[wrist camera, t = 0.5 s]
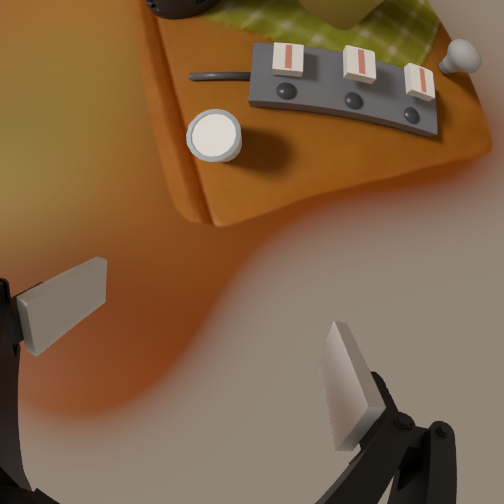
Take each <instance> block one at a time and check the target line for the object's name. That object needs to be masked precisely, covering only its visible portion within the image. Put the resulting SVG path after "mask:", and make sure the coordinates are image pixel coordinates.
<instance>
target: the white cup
mask: <svg viewBox="0 0 504 504" xmlns="http://www.w3.org/2000/svg"><path fill="white" fill-rule="evenodd" d="M186 136H187V145H188V147H189V149H190V150H191V152H192V154H194V155H195V156H196V157H198V158H199V159H201V160H205V161H209V162H228V161H230V160H232V159H234V158H235V157H236V156H237V155H238V154H239V153H240V150H241V147H242V138H241V128H240V124H239V123H238V121H237V119H236V118H235V117H234V116H233V115H232V114H230V113H229V112H227V111H224V110H220V109H212V110H206V111H204V112H202V113H201V114H199V115H197V116H196V117H195V118H194V120H193V121H192V122H191V123H190V125H189V128H188V131H187V134H186Z"/></svg>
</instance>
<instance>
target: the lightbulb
mask: <svg viewBox="0 0 504 504" xmlns="http://www.w3.org/2000/svg"><path fill="white" fill-rule="evenodd" d="M480 66H481V57H480V54H479V52H478V50H477V49H476V47H475V46H474V45H473V44H472V43H470V42H468V41H466V40H464V39H455V40H453V41H452V42H451V43H450V44H449V46H448V53H447V55H446V57H444V58H443V61H441V62H440V63H439V69H440V70H441V72H442V73H444V74H450V73H454V72H457V71H462V72H466V73H473V72H476V71H477V70H478V69H479V67H480Z"/></svg>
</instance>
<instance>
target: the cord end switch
mask: <svg viewBox="0 0 504 504" xmlns="http://www.w3.org/2000/svg"><path fill="white" fill-rule="evenodd" d="M303 50H304V45H298V44H288V43H275V42H274V52H273V66H272V75H284V76H294V77H302V73H303Z"/></svg>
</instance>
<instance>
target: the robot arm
mask: <svg viewBox="0 0 504 504" xmlns="http://www.w3.org/2000/svg"><path fill="white" fill-rule="evenodd" d="M219 1H220V0H146V3H147V6H148V7H149V8H150V10H151V11H152V12H153V13H154V14H155V15H156V16H158V17H161V18H165V19H180V18H186V17H190V16H193V15H196V14H199V13H201V12H203V11H206V10H207V9H209V8H211V7H213V6H214V5H215V4H217V3H218V2H219ZM106 270H107V260H106V259H103V258H100V257H95V258H93V259H91V260H89V261H86V262H84V263H82V264H80V265H78V266H76V267H74V268H72V269H70V270H68V271H66V272H63V273H61V274H59V275H57V276H55V277H53V278H51V279H49V280H47V281H45V282H41V283H39V284H37V285H35V286H33V287H31V288H29V289H28V290H25V291H23V292H21V293H19V294H17V295H15V296H13V297H12V298H11V296H10V289H9V282H8V281H7V280H6V279H3V278H0V504H59V503H58V502H56V501H55V500H53V499H52V498H50V497H49V496H47V495H46V494H45V493H43V492H42V491H40V490H39V489H38V488H36V490H35V491H34V492H33V491H32V489H31V486H30V484H29V482H28V480H27V478H26V476H25V473H24V470H23V465H22V458H21V450H20V441H19V428H18V373H19V360H20V350H21V348H20V344H19V342H21V341H22V340H24V342H25V347H26V350H27V351H29V352H31V353H32V354H33V355H35V356H36V357H37V356H38V355H39V354H41V353H42V352H43V351H44V350H45V349H47V348H48V347H49V346H50V345H51V344H53V343H54V342H55V341H56V340H58V339H59V338H60V337H61V336H63V335H64V334H65V333H66V332H67V331H69V330H70V329H71V328H72V327H74V326H75V325H76V324H77V323H79V322H80V321H81V320H83V319H84V318H85V317H86V316H88V315H89V314H90V313H92V312H93V311H94V310H95V309H97V308H98V307H99V306H101V305H102V304H103V303H105V298H106V296H105V295H106ZM317 362H318V367H319V371H320V376H321V380H322V385H323V389H324V394H325V399H326V404H327V409H328V414H329V419H330V424H331V429H332V434H333V440H334V444H335V450H336V451H353V449H354V448H355V447H356V446H357V445H358V443H359V444H360V447H361V450H360V452H359V453H358V454H357V455H356V456H355V457H354V458H353V460H351V462H350V463H349V466H348V467H347V468H346V470H345V471H344V472H343V473H342V474H341V475H340V477H339V478H338V479H337V480H336V481H335V483H334V484H333V485H332V486H331V487H330V488H329V490H327V492H326V493H325V494H324V495H323V496H322V497H321V498H320V499H319V500H318V501H317V502H316V503H315V504H377V503H378V502H379V500H380V498H381V497H382V495H383V493H384V492H385V490H386V488H387V487H388V485H389V483H390V481H391V479H392V478H393V476H394V478H393V483H392V487H391V491H390V495H389V499H388V503H387V504H456V493H457V490H456V489H457V466H456V447H455V436H454V435H455V434H454V431H453V429H452V428H451V426H450V425H448V424H447V423H445V422H442V421H435V422H433V423H432V425H431V426H430V427H429V428H428V429H427V428H422V427H418V426H416V425H415V423H414V421H413V419H412V418H411V417H410V416H408V415H407V414H405V413H402V412H398V409H397V407H396V405H395V403H394V401H393V399H392V397H391V395H390V394H389V391H388V389H387V388H386V384H385V382H384V381H383V379H382V378H381V377H380V376H379V375H378V374H377V373H376V372H371V371H370V370H369V368H368V366H367V364H366V362H365V360H364V358H363V355H362V353H361V351H360V349H359V347H358V345H357V343H356V341H355V339H354V337H353V335H352V333H351V331H350V329H349V327H348V325H347V323H343V322H338V321H334V323H333V325H332V327H331V330H330V332H329V335H328V337H327V339H326V342H325V344H324V346H323V349H322V351H321V353H320V356H319V358H318V360H317Z"/></svg>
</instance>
